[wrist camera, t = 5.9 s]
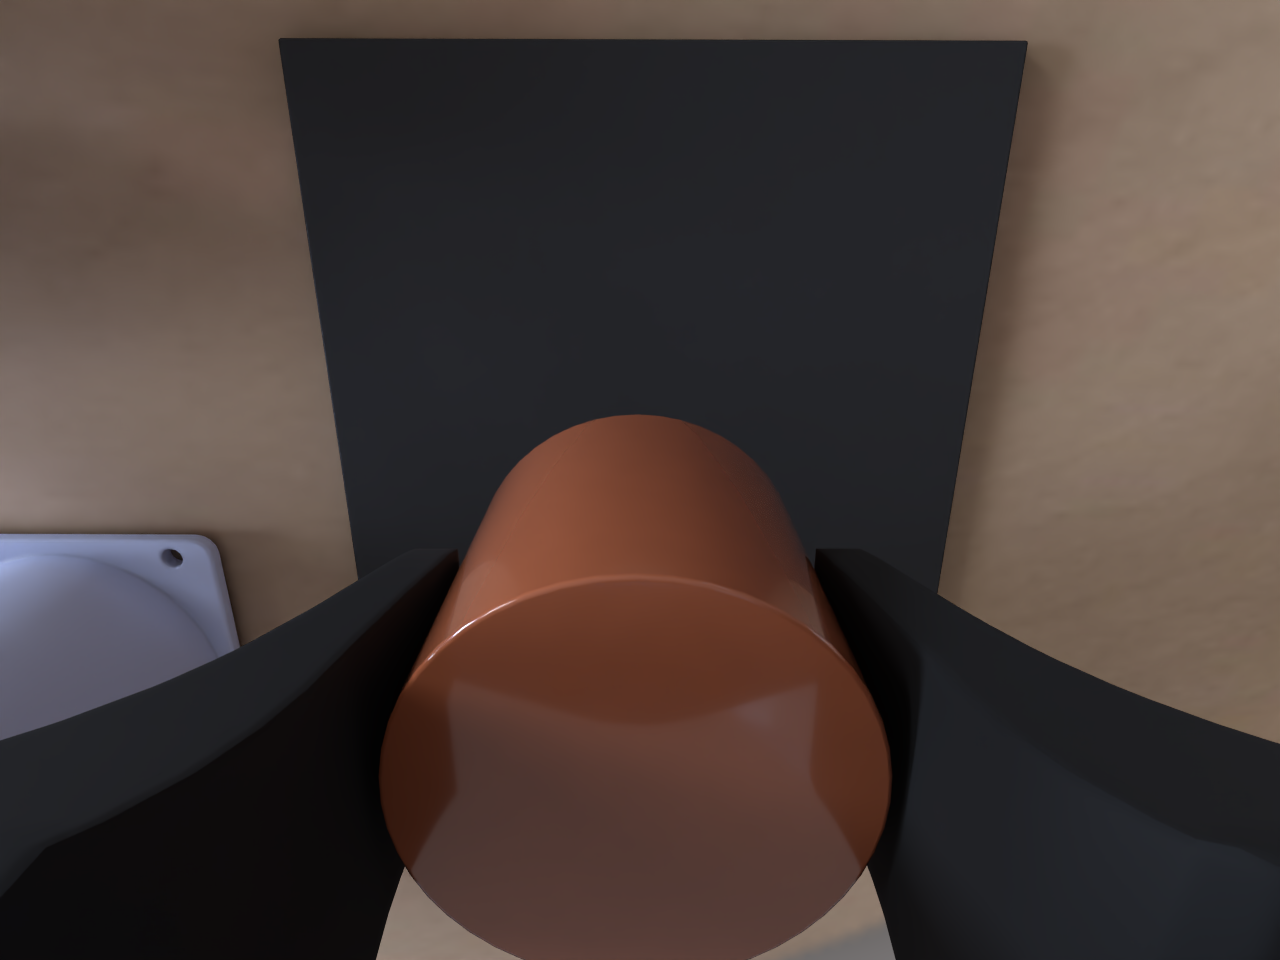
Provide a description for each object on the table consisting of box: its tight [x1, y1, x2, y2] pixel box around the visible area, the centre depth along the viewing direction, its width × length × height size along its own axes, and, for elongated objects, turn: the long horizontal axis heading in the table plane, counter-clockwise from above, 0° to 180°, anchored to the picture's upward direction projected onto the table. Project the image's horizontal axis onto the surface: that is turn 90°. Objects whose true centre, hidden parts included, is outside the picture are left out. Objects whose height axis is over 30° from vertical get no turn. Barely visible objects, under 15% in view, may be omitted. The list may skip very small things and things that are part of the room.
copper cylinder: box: [378, 415, 893, 960], centre depth 10 cm, size 5×5×5 cm
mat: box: [279, 38, 1028, 594], centre depth 19 cm, size 15×20×1 cm
